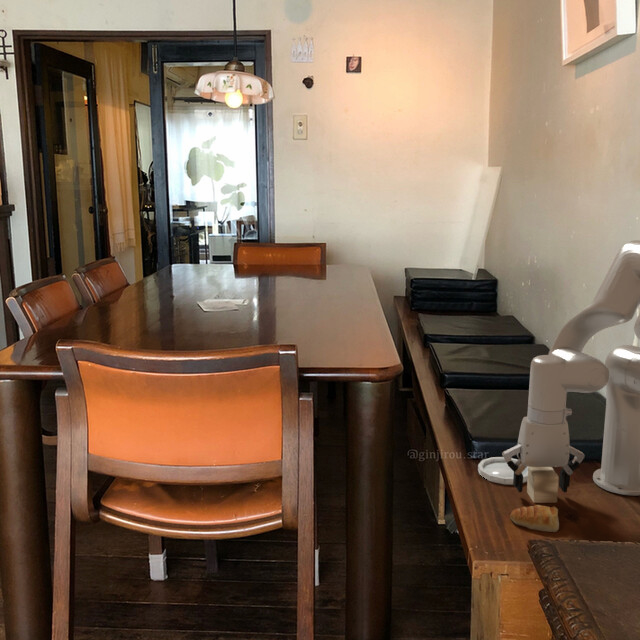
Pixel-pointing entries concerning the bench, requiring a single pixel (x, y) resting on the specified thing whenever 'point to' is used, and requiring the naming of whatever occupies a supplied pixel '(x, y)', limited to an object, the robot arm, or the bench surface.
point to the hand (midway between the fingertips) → (540, 489)
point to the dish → (499, 470)
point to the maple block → (542, 484)
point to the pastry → (537, 518)
